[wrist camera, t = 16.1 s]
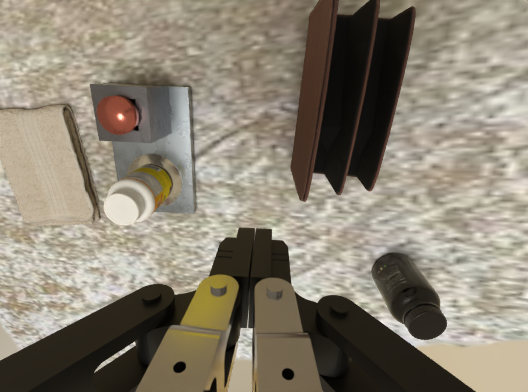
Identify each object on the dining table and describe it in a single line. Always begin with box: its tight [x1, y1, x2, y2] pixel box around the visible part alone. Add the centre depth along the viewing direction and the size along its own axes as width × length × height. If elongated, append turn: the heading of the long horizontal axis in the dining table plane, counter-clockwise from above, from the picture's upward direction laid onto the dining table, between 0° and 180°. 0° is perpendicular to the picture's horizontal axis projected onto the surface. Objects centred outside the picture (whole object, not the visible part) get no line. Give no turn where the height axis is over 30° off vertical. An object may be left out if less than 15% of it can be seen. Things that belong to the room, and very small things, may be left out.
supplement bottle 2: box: [372, 254, 447, 340], centre depth 42 cm, size 7×7×12 cm
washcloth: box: [0, 104, 99, 227], centre depth 42 cm, size 12×18×3 cm, turn 4°
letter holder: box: [291, 0, 416, 202], centre depth 32 cm, size 10×20×14 cm, turn 175°
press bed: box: [90, 83, 196, 214], centre depth 37 cm, size 18×11×8 cm, turn 177°
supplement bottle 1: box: [104, 164, 173, 225], centre depth 36 cm, size 6×6×10 cm
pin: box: [97, 95, 139, 135], centre depth 34 cm, size 4×4×8 cm
